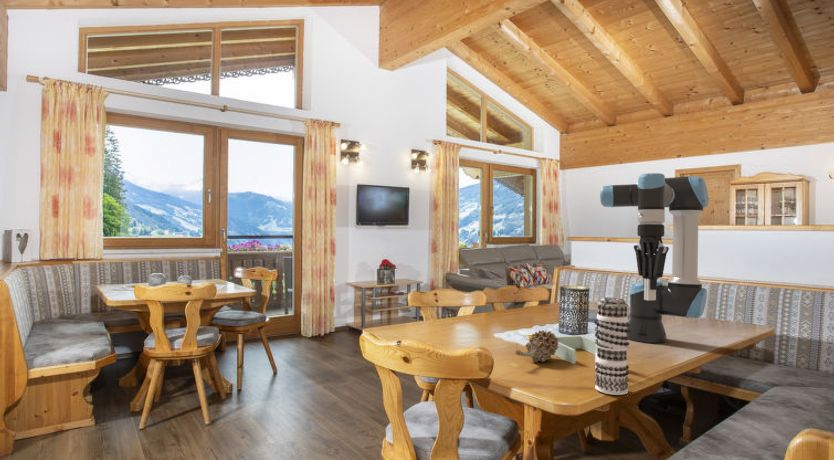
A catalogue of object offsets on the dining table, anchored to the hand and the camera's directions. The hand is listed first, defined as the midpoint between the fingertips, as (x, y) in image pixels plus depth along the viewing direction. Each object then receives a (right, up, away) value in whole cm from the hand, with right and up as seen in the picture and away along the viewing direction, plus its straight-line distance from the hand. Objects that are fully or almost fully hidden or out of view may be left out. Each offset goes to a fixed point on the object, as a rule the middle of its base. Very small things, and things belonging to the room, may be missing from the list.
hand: (649, 299), depth 150 cm
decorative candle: (-19, -22, -17) cm, 34 cm away
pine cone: (-33, -22, +9) cm, 41 cm away
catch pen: (-16, -22, +19) cm, 33 cm away
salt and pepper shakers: (-13, -23, +3) cm, 26 cm away
